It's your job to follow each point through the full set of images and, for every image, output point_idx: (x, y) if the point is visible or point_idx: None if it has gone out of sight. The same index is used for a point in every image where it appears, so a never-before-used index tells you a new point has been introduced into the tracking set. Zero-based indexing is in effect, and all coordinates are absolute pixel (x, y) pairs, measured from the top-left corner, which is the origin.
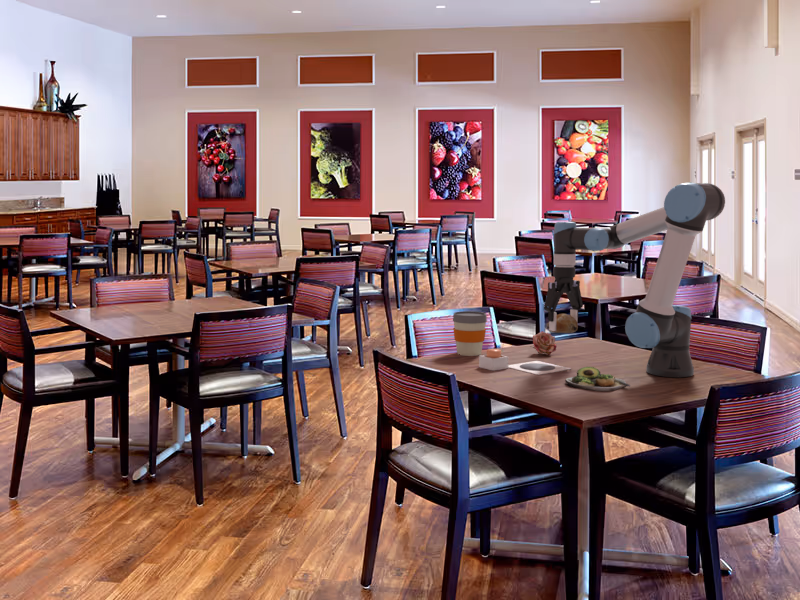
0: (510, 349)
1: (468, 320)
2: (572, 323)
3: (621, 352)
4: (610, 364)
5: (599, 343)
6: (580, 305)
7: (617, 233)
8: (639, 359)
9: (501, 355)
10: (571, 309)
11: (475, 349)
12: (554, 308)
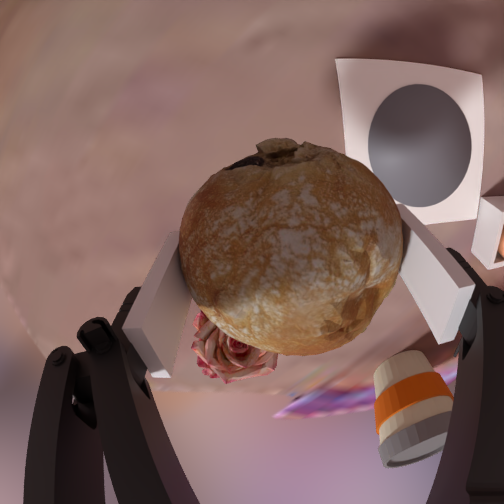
0: (281, 378)
1: None
2: (289, 166)
3: (17, 235)
4: (121, 75)
5: (40, 333)
6: (69, 363)
7: None
8: (10, 131)
9: (499, 236)
10: (163, 371)
11: (417, 360)
12: (497, 316)
